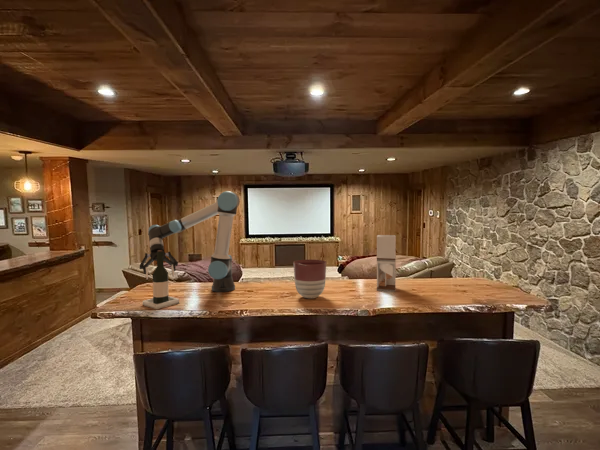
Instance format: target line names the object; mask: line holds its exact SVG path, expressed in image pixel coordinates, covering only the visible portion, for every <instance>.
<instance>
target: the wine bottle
mask: <svg viewBox="0 0 600 450" xmlns="http://www.w3.org/2000/svg"><path fill="white" fill-rule="evenodd" d="M152 298H153V303H155V304H160V303H164V302H167V301H169V271H167V269H166V267H165V266H164V261H163V251H162V250H158V252H157V261H156V268H155V269H154V271H153V273H152Z"/></svg>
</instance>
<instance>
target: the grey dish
mask: <svg viewBox="0 0 600 450" xmlns="http://www.w3.org/2000/svg"><path fill="white" fill-rule="evenodd" d="M141 303H142V306H143V305H144V307H146V308H147V307H148V308H151V309H154V310H160V309H163V308H166V307H171V306H174V305H179V304H180V298H177V297H173V296H169V301H167V302H164V303H160V304H155V303H153V297H152V298H149V299H146V300H142V302H141Z"/></svg>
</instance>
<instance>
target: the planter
mask: <svg viewBox="0 0 600 450" xmlns="http://www.w3.org/2000/svg"><path fill="white" fill-rule="evenodd" d="M326 272H327V261H325V260H324V259H323V260H321V259H300V260H299V259H298V260H294V261H293V274H294V275H293V276H294V277H293V278H294V286H295V289H296V291H297V293H298V294H299V295H300V296H301V297H303V298H304V299H310V300H311V299H315V298H317V297H319V296H321V294H322V293H323V292H324V291H325V286H326V275H327V273H326Z"/></svg>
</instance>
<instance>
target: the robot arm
mask: <svg viewBox="0 0 600 450" xmlns="http://www.w3.org/2000/svg"><path fill="white" fill-rule="evenodd" d="M240 200H241V199H240V197H239V195H238V194H237V193H235V192H233V191H229V190H225V191H223V192H221V193H219V195H218V197H217V200H216V202H214V203H212V204H209V205H207V206H205V207H203V208H201V209H199V210H197V211H195V212H192V213H190V214H188V215H186V216H184V217H182V218H179V219H174V220H171V221H169V222H167V223H165V224H162V225H158V224H152V225H150V226H149V227H148V232H147V234H148V239H149V240H148V241H149V252H150V253H147V252H145V253H144V257H143V259H142V261H141V262H140V264H139V270H143V274H144V275H145V277H146V280H149V273H148V271H149V270H148V268H149V266H151V264H152V263H153V262H154V261H155V262H157V252H158V250H162V251H163V262H166V263H167V264H168V265H169V266H171V267H170V269H171V273H172V277H175V271H176V267H177V266H178V263H179V262H178V260H177V259H176V258H175V257H174V256H173V255H172V253H171V251H168V252H166V251H165V247H164V241H163V240H164V239H165V238H167V237H169V236H171V235H174V234H180V233H182V232H183V231H185V230H187V229H190V228H191V227H193V226H195V225H197V224H200V223H202V222H204V221H207V220H209V219H210V218H212V217H215V216H217V215H218V222H217V230H216V236H215V244H214V252H213V253H212V255H210V261H209V264H208V268H207V272H208V275H209V276H210V277H211V278H213V281H212V284H211V291H212V292H216V293H225V292H227V293H228V292H231V291H234V290H236V284H235V281H234V279H233V262H232V261H233V258H232V255H231V254H229V253H230V251H229V250H230V245H231V237H232V229H233V221H234V217H235V216H236V215H237V211H238V207H239V205H240V202H241V201H240ZM149 258H150V259H149ZM148 259H149V260H148Z"/></svg>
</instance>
